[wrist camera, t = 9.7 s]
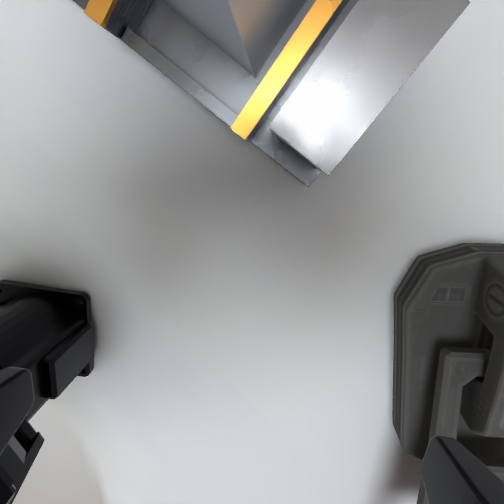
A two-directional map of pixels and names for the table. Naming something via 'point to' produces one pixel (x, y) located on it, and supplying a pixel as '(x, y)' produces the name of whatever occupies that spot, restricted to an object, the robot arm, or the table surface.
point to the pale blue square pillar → (241, 25)
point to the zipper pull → (451, 353)
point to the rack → (292, 70)
